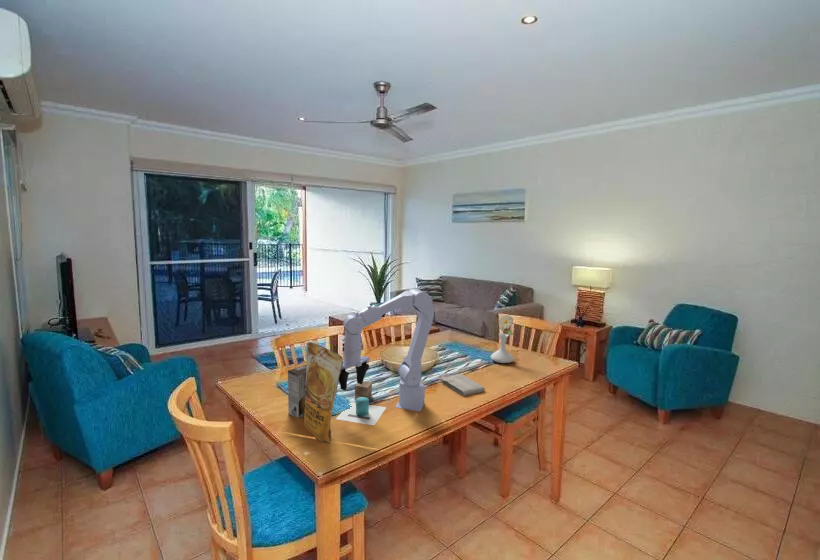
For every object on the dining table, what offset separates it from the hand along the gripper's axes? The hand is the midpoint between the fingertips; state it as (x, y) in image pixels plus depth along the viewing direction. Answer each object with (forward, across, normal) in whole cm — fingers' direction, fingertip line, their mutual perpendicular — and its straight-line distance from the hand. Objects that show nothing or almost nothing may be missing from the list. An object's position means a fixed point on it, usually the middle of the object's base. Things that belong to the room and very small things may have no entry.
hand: (351, 386), depth 145 cm
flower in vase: (+10, +90, -12) cm, 91 cm away
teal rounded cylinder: (+9, +2, -4) cm, 10 cm away
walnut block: (+10, +11, +5) cm, 16 cm away
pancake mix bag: (+10, -16, -2) cm, 19 cm away
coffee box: (+10, -12, +12) cm, 20 cm away
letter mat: (+10, +2, -4) cm, 11 cm away
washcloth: (+11, +49, -15) cm, 52 cm away
